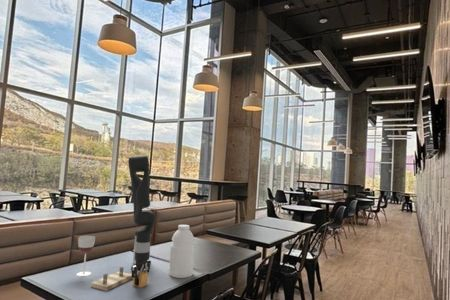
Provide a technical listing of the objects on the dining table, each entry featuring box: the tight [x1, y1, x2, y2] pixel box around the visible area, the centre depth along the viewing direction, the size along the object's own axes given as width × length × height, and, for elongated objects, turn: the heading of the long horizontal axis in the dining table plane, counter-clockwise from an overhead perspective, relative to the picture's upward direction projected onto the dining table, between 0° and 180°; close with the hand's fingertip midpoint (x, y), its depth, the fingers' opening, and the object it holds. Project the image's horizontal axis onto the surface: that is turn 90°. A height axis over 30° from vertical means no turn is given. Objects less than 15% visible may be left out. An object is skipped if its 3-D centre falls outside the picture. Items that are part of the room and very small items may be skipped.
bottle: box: [168, 224, 196, 279], centre depth 179 cm, size 14×14×28 cm
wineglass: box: [76, 235, 96, 277], centre depth 171 cm, size 8×9×20 cm
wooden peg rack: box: [90, 266, 133, 292], centre depth 160 cm, size 20×10×6 cm, turn 159°
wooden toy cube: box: [132, 270, 149, 288], centre depth 159 cm, size 5×5×6 cm
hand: (140, 283), depth 159 cm, fingers closed on wooden toy cube, 5 cm apart
